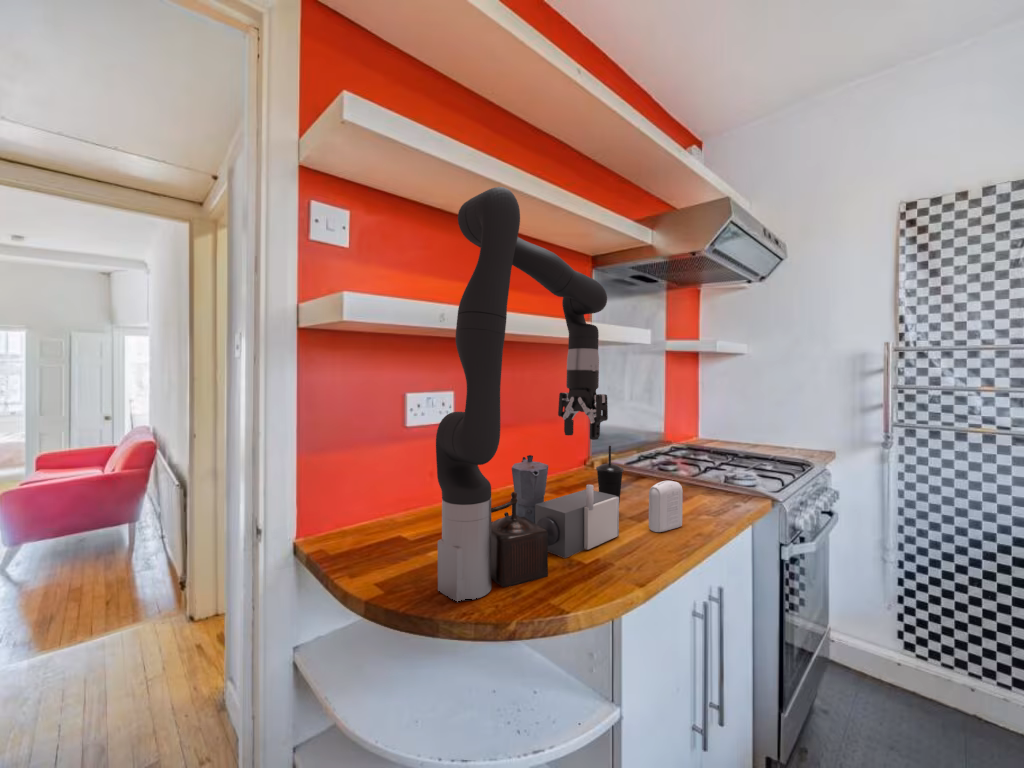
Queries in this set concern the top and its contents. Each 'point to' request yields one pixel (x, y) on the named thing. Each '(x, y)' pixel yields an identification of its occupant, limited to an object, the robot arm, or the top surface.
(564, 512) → the camera housing
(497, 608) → the top surface
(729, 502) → the top surface
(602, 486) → the drinking cup
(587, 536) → the side door
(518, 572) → the coffee grinder
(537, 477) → the moka pot
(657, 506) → the photo printer
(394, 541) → the top surface
